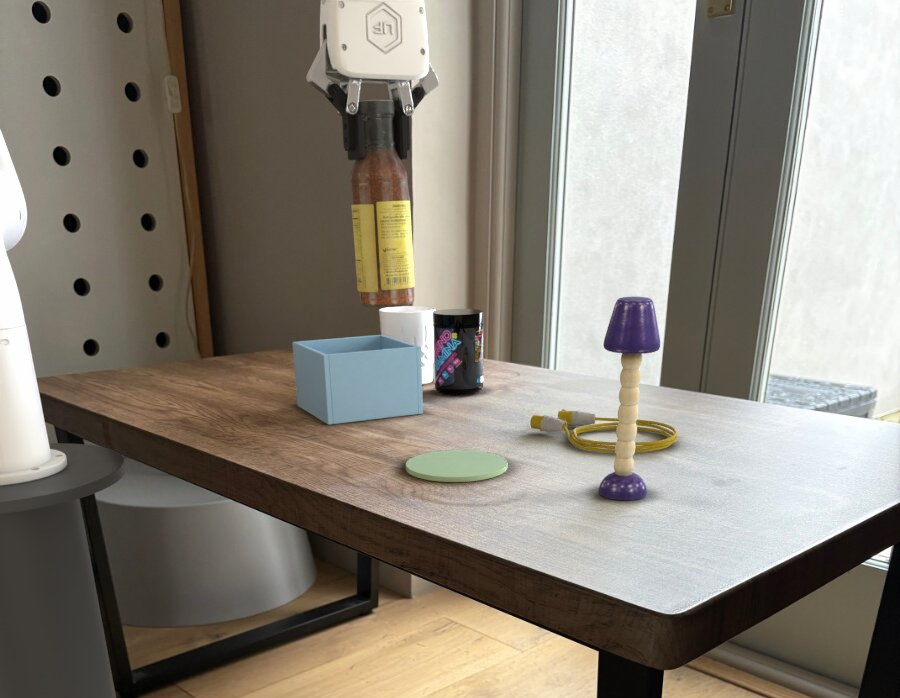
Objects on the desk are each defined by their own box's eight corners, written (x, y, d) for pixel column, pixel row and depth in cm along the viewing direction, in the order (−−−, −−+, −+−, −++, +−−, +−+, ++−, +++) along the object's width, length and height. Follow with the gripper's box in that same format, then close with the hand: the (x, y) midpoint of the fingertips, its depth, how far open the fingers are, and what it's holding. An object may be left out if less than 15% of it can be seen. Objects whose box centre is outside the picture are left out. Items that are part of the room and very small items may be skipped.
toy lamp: (659, 498, 81) (675, 299, 74) (612, 505, 79) (624, 302, 73) (631, 484, 85) (643, 293, 78) (585, 490, 84) (594, 296, 77)
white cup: (429, 375, 137) (427, 304, 133) (443, 384, 130) (441, 310, 126) (376, 378, 136) (373, 307, 131) (388, 388, 129) (385, 313, 125)
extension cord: (608, 416, 110) (609, 400, 110) (701, 444, 98) (703, 425, 97) (522, 429, 105) (522, 412, 104) (609, 461, 92) (610, 441, 92)
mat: (431, 487, 85) (431, 482, 85) (390, 462, 93) (389, 457, 93) (526, 473, 89) (526, 468, 89) (478, 450, 97) (478, 445, 97)
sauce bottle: (420, 303, 104) (417, 102, 96) (407, 309, 98) (403, 97, 90) (364, 302, 105) (356, 104, 97) (348, 308, 99) (338, 98, 92)
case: (328, 424, 109) (323, 355, 106) (297, 405, 119) (292, 341, 116) (423, 413, 114) (421, 346, 110) (385, 396, 124) (382, 334, 121)
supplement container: (434, 387, 129) (432, 309, 125) (483, 386, 129) (483, 308, 125) (433, 396, 123) (431, 315, 119) (484, 396, 123) (484, 314, 119)
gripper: (297, -72, 82) (312, 158, 89) (465, -54, 89) (466, 158, 96) (272, -53, 88) (288, 160, 95) (431, -37, 95) (434, 161, 102)
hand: (377, 157), depth 96 cm, fingers closed on sauce bottle, 4 cm apart
